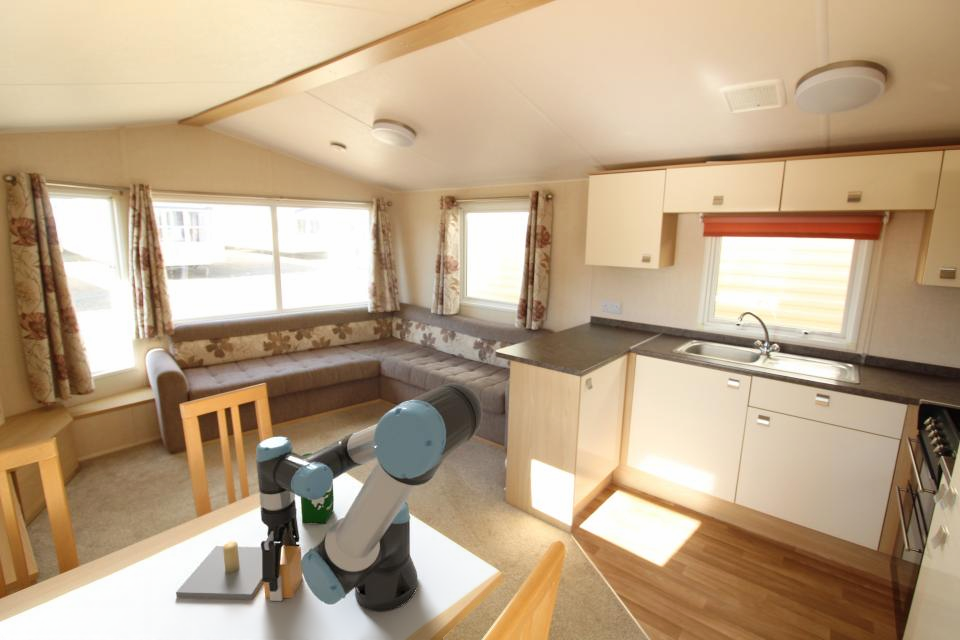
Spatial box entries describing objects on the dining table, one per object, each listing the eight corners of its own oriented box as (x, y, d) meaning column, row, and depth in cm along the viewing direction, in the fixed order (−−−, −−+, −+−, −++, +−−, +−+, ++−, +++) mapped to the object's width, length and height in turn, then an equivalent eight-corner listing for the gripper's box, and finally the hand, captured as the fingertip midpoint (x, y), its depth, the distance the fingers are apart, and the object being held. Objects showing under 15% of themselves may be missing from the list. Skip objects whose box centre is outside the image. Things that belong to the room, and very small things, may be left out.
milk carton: (309, 507, 142) (305, 449, 138) (337, 508, 142) (334, 450, 138) (297, 525, 133) (293, 463, 129) (328, 526, 133) (324, 464, 129)
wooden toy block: (302, 577, 113) (300, 546, 111) (291, 598, 107) (289, 564, 105) (277, 577, 113) (275, 545, 111) (265, 597, 107) (262, 564, 105)
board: (282, 552, 122) (280, 526, 120) (251, 599, 106) (249, 570, 105) (216, 551, 122) (213, 524, 120) (176, 597, 106) (172, 568, 105)
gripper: (281, 478, 116) (287, 556, 120) (238, 529, 96) (247, 620, 100) (310, 479, 116) (314, 557, 120) (273, 530, 96) (280, 621, 100)
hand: (284, 586), depth 110 cm, fingers open, 7 cm apart
